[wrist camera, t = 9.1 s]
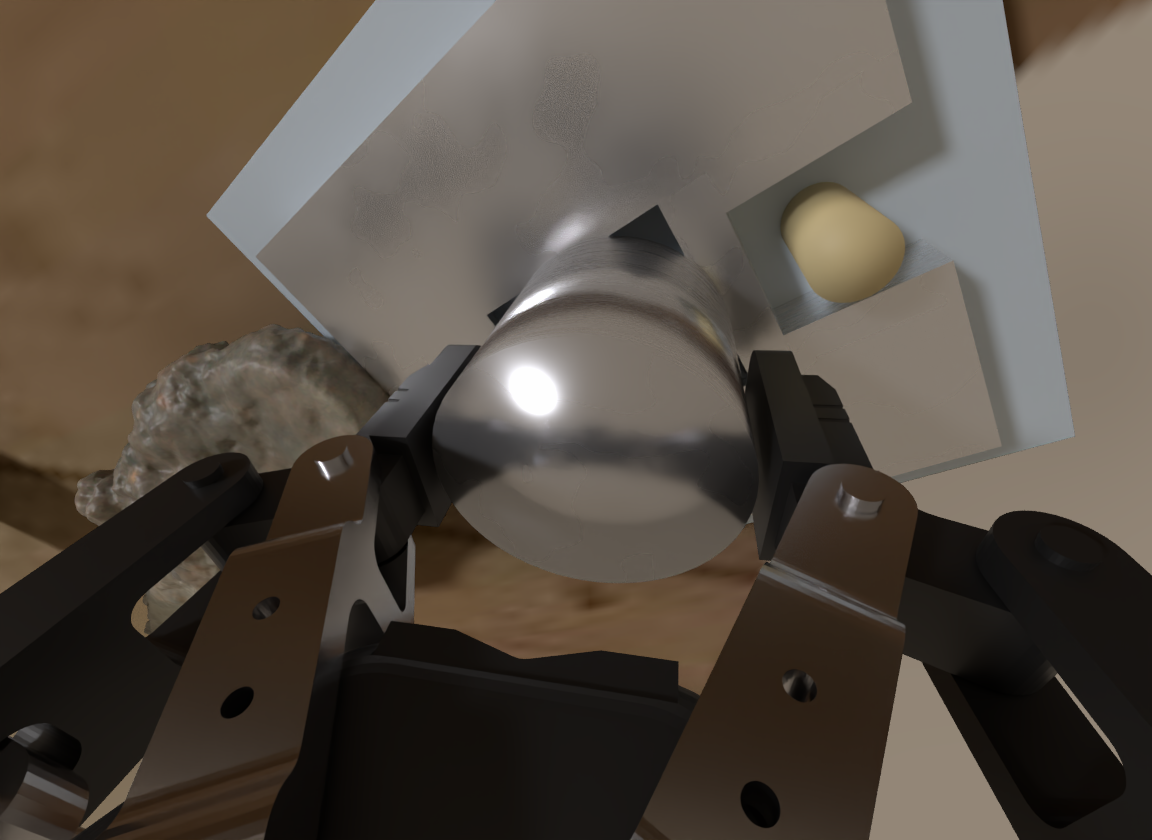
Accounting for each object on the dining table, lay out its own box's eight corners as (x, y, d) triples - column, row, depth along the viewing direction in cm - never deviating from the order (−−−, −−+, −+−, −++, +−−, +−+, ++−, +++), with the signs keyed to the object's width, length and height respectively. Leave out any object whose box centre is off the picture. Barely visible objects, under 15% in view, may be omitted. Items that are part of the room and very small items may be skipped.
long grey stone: (169, 577, 36) (293, 633, 38) (104, 648, 32) (248, 703, 35) (192, 218, 13) (489, 413, 16) (-19, 312, 9) (419, 547, 12)
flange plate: (566, 536, 19) (523, 706, 14) (294, 239, 14) (55, 343, 8) (970, 409, 13) (1164, 636, 8) (780, -256, 7) (1035, -1107, 2)
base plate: (563, 547, 22) (540, 637, 19) (244, 204, 15) (106, 245, 11) (1042, 405, 14) (1163, 519, 10) (855, -527, 7) (1053, -1213, 3)
